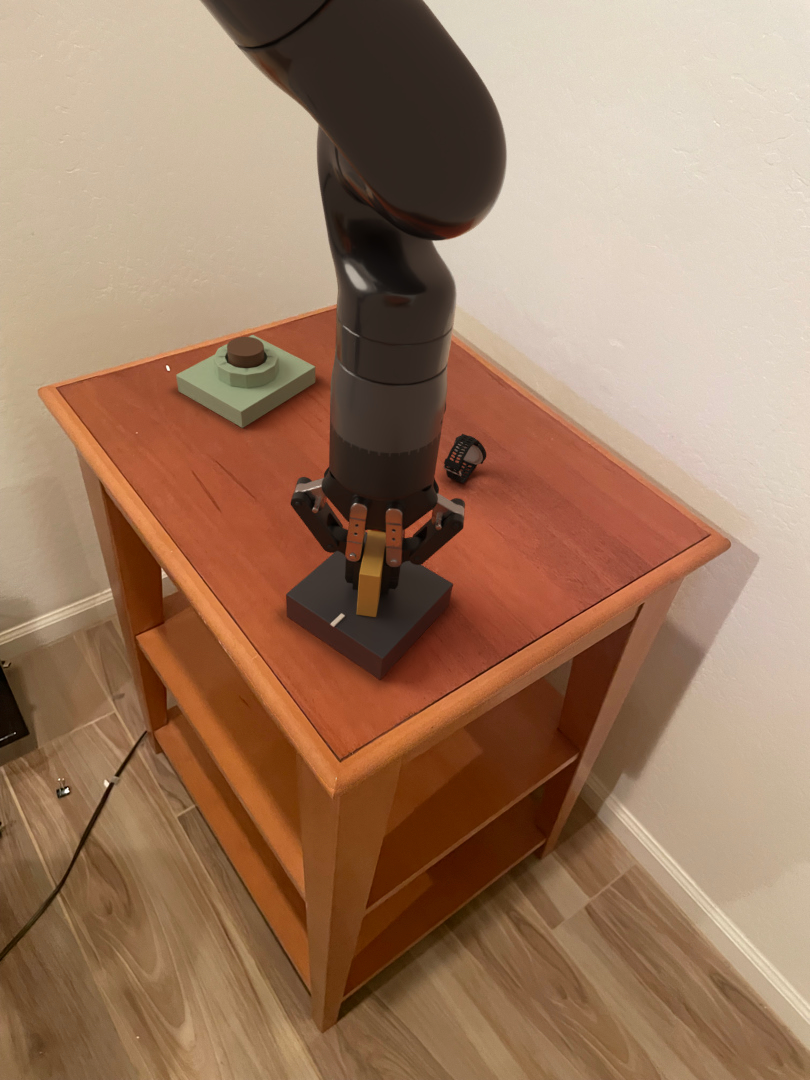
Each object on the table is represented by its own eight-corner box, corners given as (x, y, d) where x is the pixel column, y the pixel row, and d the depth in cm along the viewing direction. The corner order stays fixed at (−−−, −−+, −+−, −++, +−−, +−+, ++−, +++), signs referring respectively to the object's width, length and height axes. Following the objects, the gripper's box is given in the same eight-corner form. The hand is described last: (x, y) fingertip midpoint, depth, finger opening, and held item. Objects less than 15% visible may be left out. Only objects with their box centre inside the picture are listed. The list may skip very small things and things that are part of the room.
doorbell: (242, 428, 79) (239, 397, 76) (178, 391, 83) (173, 360, 80) (315, 382, 86) (315, 352, 84) (253, 350, 90) (251, 320, 87)
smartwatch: (487, 480, 77) (496, 442, 73) (449, 497, 74) (456, 459, 71) (462, 458, 79) (469, 420, 75) (425, 474, 77) (430, 436, 73)
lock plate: (379, 681, 58) (382, 658, 56) (285, 617, 62) (284, 593, 60) (449, 605, 65) (454, 581, 62) (360, 551, 68) (362, 527, 66)
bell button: (246, 374, 80) (245, 360, 79) (220, 360, 82) (219, 346, 80) (272, 359, 83) (271, 346, 81) (246, 346, 84) (245, 332, 83)
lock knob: (376, 617, 59) (380, 574, 55) (356, 614, 59) (359, 571, 55) (385, 563, 63) (389, 520, 59) (366, 560, 63) (370, 517, 59)
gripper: (271, 433, 46) (280, 607, 58) (488, 463, 46) (451, 631, 58) (296, 369, 51) (299, 541, 64) (490, 395, 51) (456, 563, 63)
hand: (372, 583), depth 61 cm, fingers closed on lock knob
